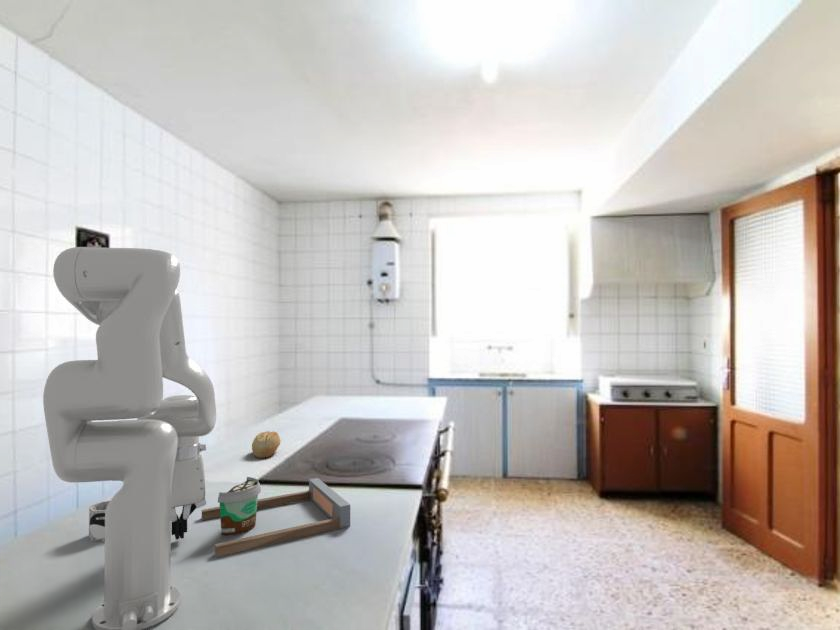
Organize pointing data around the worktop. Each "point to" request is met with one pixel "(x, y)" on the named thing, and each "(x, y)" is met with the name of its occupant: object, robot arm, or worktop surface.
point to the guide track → (275, 535)
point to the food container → (239, 507)
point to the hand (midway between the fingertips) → (179, 536)
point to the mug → (97, 521)
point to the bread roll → (265, 444)
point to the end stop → (329, 502)
